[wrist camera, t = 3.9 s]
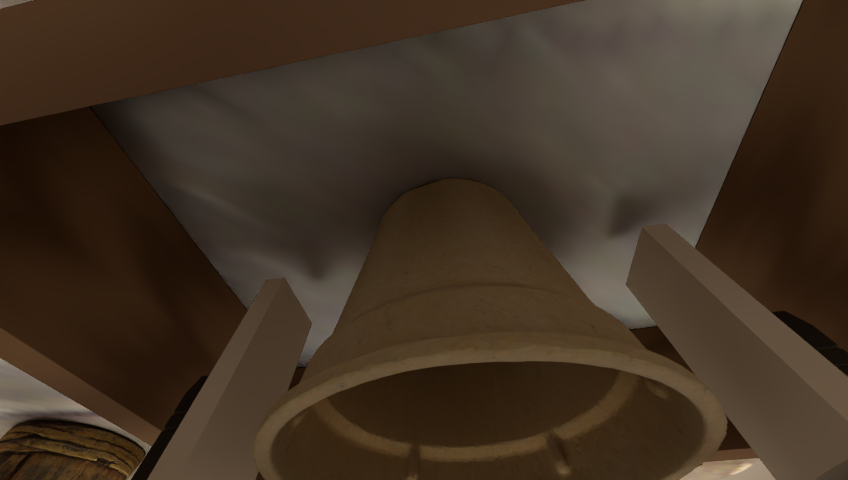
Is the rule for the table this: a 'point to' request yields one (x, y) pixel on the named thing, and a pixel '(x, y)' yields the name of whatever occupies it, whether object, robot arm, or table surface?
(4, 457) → the wooden mug
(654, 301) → the robot arm
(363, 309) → the flower pot
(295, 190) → the table surface
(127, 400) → the walnut crate
